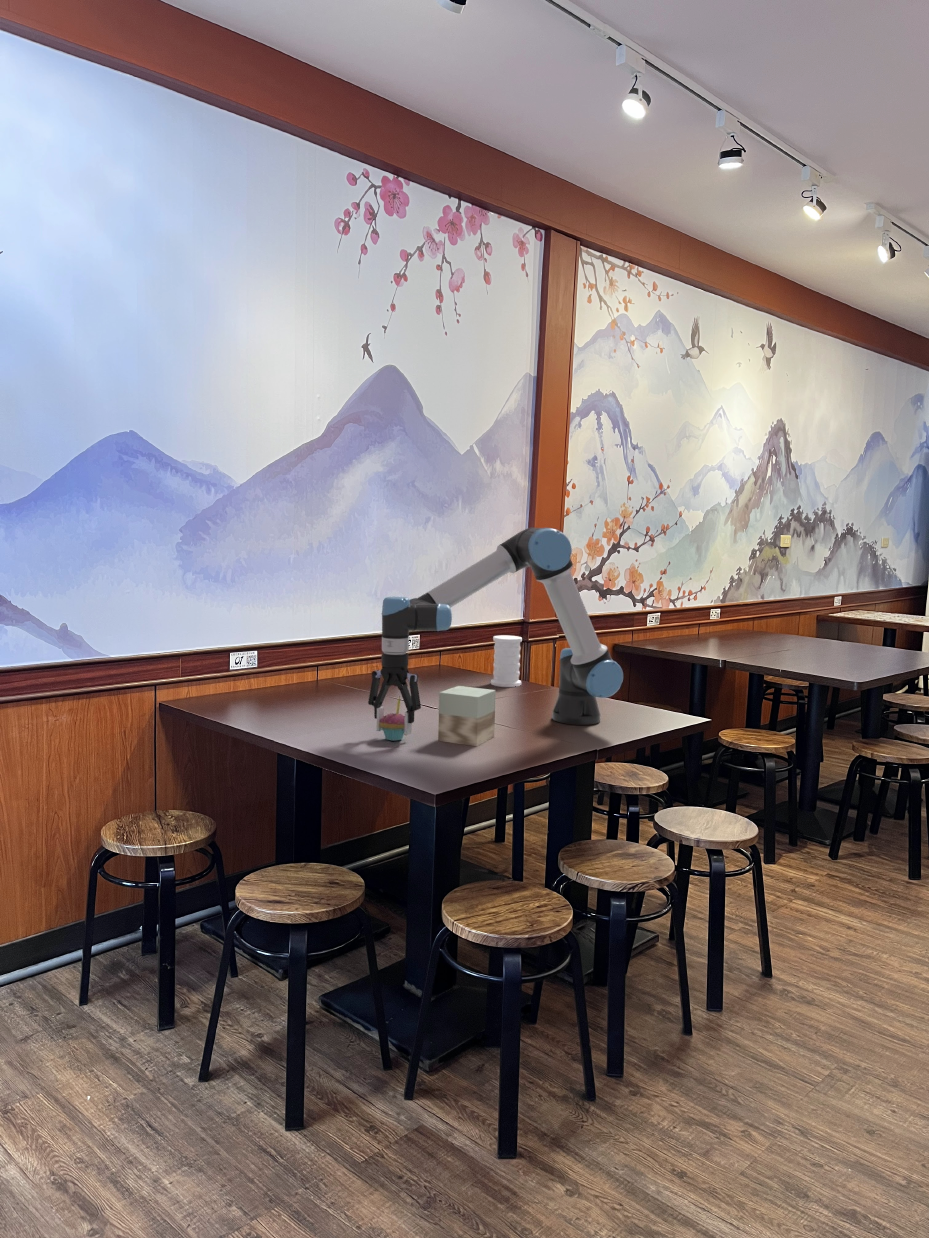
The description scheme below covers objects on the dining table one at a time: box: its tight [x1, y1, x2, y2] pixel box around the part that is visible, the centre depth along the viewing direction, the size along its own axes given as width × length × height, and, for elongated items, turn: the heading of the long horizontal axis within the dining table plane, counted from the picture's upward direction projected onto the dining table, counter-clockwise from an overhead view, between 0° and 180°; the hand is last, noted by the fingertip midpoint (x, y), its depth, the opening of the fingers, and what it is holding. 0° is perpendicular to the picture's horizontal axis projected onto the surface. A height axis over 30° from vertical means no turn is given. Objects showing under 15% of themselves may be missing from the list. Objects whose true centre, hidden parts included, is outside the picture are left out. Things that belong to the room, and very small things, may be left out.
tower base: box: [437, 710, 496, 747], centre depth 262 cm, size 12×12×8 cm
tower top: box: [438, 685, 497, 719], centre depth 261 cm, size 12×12×6 cm
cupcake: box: [379, 695, 405, 741], centre depth 258 cm, size 9×8×12 cm
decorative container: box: [490, 634, 523, 688], centre depth 349 cm, size 12×12×18 cm
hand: (393, 732), depth 259 cm, fingers closed on cupcake, 8 cm apart
